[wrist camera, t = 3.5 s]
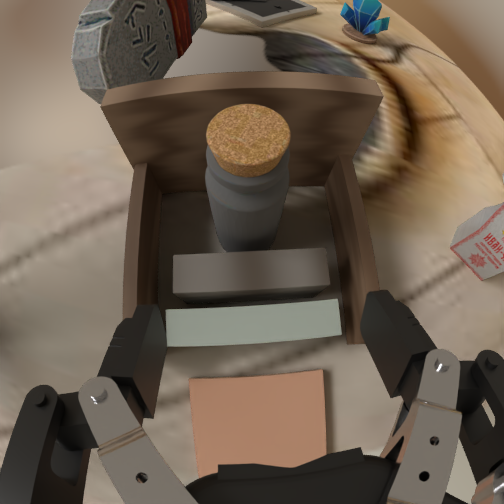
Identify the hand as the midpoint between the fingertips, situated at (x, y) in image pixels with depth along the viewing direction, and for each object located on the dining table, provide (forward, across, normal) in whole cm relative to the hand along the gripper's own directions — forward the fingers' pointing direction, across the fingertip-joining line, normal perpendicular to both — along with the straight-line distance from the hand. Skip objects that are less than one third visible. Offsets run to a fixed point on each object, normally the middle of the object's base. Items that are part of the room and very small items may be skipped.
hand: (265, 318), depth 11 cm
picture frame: (+58, -5, -33) cm, 67 cm away
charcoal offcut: (+15, 0, +8) cm, 17 cm away
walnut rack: (+17, 0, +6) cm, 18 cm away
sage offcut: (+12, 0, +11) cm, 17 cm away
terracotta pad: (+5, 0, +19) cm, 19 cm away
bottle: (+19, 0, +5) cm, 19 cm away
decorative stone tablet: (+40, +12, -17) cm, 45 cm away
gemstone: (+49, -25, -25) cm, 60 cm away
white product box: (+16, -28, +7) cm, 33 cm away
